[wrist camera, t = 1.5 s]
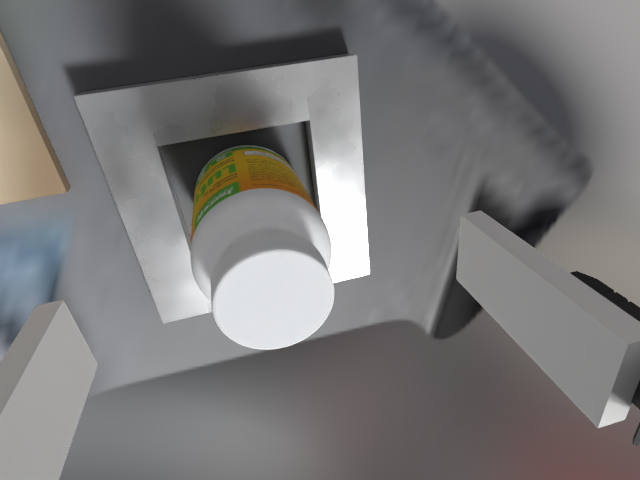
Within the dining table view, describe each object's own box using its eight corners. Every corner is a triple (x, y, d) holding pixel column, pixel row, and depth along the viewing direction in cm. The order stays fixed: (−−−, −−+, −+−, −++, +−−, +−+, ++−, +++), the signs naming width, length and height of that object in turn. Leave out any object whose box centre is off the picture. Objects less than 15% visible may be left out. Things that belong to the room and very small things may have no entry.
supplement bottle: (219, 123, 19) (229, 199, 11) (315, 169, 21) (385, 260, 13) (178, 219, 21) (160, 347, 13) (272, 251, 23) (309, 379, 15)
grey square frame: (165, 310, 23) (163, 323, 22) (81, 92, 17) (73, 96, 16) (362, 263, 25) (369, 274, 24) (348, 53, 19) (356, 54, 18)
